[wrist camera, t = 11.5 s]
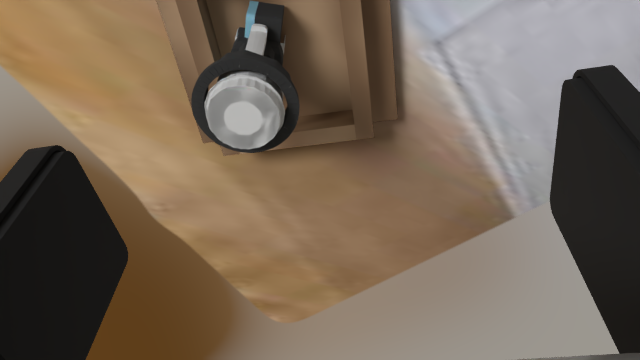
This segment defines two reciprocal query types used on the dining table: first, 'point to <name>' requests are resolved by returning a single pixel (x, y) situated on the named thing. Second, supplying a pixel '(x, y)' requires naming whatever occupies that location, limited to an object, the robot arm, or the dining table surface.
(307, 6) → the brown wooden divided tray
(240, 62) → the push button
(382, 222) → the dining table surface
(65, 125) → the dining table surface
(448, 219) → the dining table surface
